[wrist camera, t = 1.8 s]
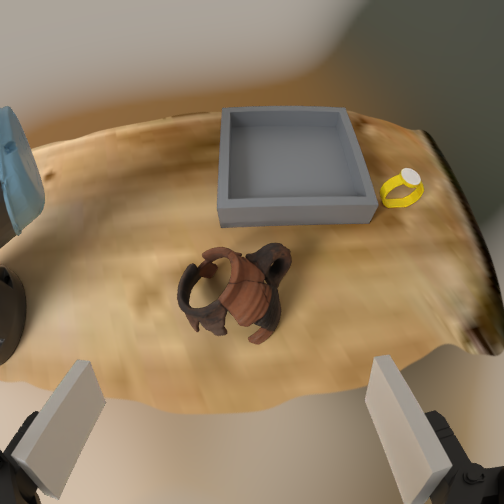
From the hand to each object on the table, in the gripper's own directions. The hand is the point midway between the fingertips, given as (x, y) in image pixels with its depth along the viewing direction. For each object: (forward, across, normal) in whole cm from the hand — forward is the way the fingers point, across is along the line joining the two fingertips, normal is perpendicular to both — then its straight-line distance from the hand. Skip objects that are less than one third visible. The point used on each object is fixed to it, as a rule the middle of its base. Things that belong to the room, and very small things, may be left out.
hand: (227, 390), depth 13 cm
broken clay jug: (+20, 0, -5) cm, 21 cm away
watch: (+29, +20, +3) cm, 36 cm away
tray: (+33, +6, +8) cm, 34 cm away
